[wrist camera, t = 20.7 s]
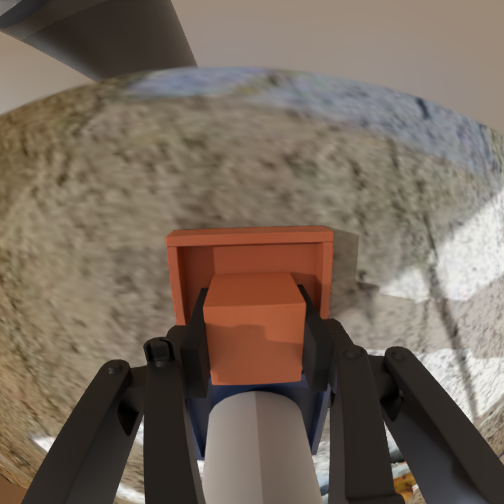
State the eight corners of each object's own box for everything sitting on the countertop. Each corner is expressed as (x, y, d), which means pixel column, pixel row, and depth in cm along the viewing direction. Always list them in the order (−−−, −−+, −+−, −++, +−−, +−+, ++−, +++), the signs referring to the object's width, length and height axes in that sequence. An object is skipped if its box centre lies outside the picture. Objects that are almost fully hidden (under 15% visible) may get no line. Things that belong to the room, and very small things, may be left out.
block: (212, 274, 16) (202, 307, 12) (290, 271, 17) (306, 303, 12) (218, 340, 18) (212, 385, 13) (288, 337, 18) (301, 381, 13)
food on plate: (462, 440, 26) (478, 464, 20) (363, 513, 31) (371, 535, 25) (376, 432, 22) (397, 476, 16) (255, 512, 27) (256, 545, 21)
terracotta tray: (173, 230, 16) (165, 236, 15) (324, 225, 17) (334, 231, 15) (189, 357, 19) (185, 373, 17) (316, 352, 19) (322, 367, 17)
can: (214, 439, 21) (207, 552, 9) (204, 383, 19) (184, 528, 7) (296, 436, 21) (318, 546, 9) (303, 380, 19) (343, 519, 8)
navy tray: (177, 361, 19) (171, 376, 17) (328, 354, 19) (335, 370, 17) (198, 445, 22) (196, 460, 20) (312, 440, 22) (316, 454, 20)
